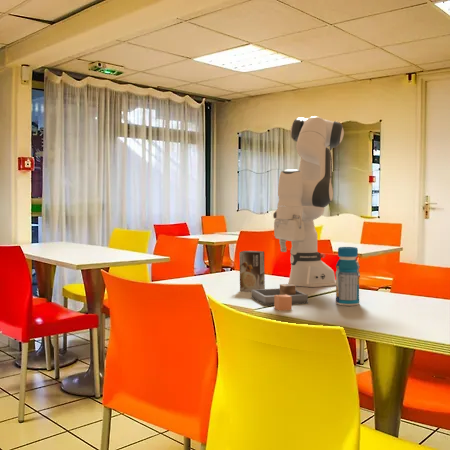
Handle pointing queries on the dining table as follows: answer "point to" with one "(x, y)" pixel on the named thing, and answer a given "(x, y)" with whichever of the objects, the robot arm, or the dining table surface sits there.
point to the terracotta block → (282, 302)
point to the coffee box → (252, 270)
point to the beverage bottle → (347, 277)
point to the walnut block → (287, 289)
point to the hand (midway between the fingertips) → (288, 253)
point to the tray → (268, 294)
